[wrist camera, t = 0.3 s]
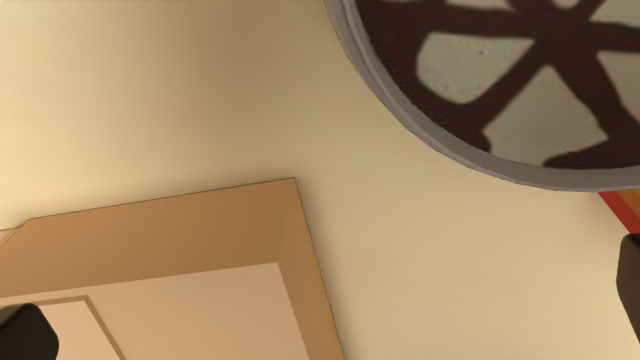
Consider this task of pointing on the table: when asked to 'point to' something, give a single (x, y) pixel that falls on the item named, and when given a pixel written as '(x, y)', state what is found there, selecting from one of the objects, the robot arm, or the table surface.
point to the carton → (177, 278)
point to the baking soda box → (625, 207)
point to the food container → (508, 83)
